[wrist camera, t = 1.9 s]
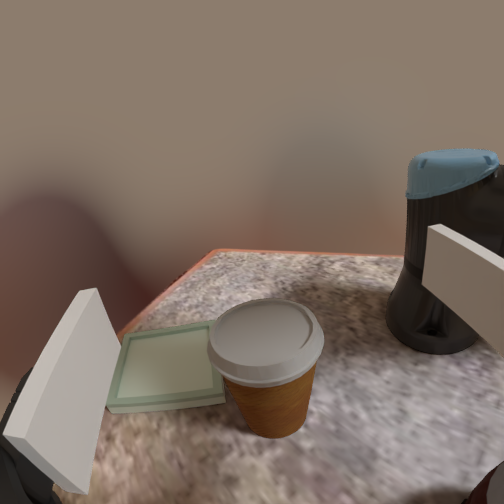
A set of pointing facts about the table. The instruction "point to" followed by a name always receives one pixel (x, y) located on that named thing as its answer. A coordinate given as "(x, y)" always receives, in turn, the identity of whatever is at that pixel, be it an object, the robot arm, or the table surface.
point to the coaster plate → (165, 371)
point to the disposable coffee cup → (268, 361)
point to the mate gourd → (489, 488)
